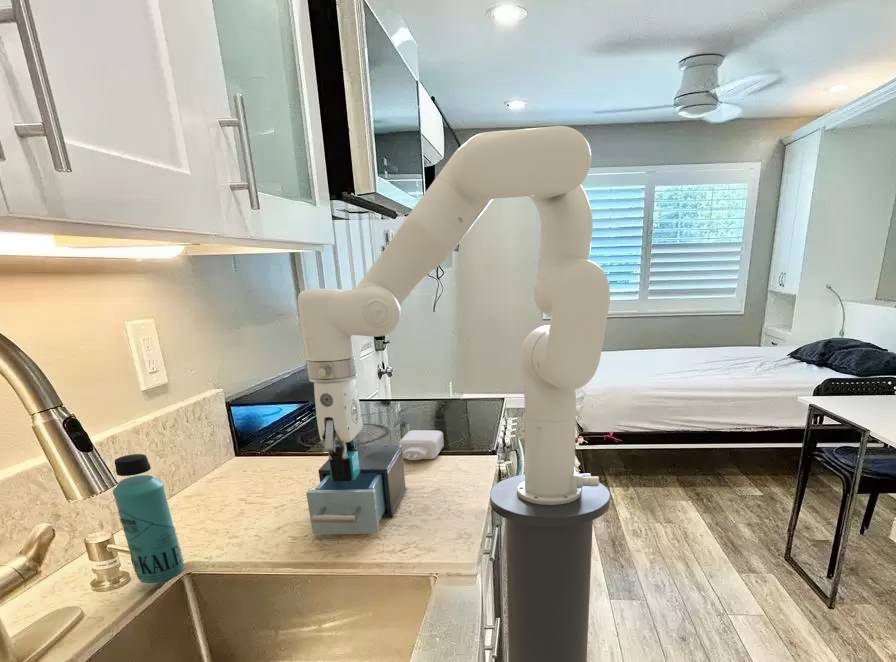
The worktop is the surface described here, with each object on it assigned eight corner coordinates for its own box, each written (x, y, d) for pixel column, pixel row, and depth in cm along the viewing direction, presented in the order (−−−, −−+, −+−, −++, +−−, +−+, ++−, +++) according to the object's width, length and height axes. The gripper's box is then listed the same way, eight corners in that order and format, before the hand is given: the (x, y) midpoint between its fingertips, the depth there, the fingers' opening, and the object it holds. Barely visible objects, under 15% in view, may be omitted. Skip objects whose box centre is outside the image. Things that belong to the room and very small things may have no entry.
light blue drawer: (371, 547, 93) (366, 503, 90) (303, 547, 94) (295, 504, 91) (393, 503, 110) (389, 465, 108) (335, 503, 111) (330, 465, 108)
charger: (392, 467, 133) (408, 447, 146) (430, 468, 132) (444, 448, 145) (390, 448, 131) (407, 430, 145) (429, 448, 130) (442, 430, 144)
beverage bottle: (158, 570, 90) (124, 449, 82) (197, 571, 89) (166, 449, 81) (128, 592, 84) (89, 463, 76) (170, 594, 83) (135, 464, 75)
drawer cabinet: (392, 517, 106) (387, 469, 103) (325, 518, 107) (318, 470, 103) (405, 488, 120) (401, 445, 116) (346, 489, 120) (340, 446, 117)
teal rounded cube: (360, 472, 101) (357, 450, 99) (354, 480, 97) (351, 458, 96) (338, 472, 101) (335, 451, 99) (331, 480, 97) (328, 458, 96)
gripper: (340, 379, 84) (355, 493, 91) (367, 360, 100) (378, 460, 107) (290, 380, 84) (309, 494, 91) (325, 361, 100) (338, 460, 107)
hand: (346, 474), depth 99 cm, fingers closed on teal rounded cube, 3 cm apart
